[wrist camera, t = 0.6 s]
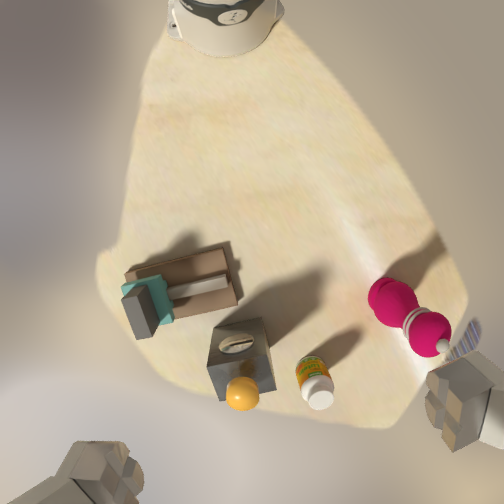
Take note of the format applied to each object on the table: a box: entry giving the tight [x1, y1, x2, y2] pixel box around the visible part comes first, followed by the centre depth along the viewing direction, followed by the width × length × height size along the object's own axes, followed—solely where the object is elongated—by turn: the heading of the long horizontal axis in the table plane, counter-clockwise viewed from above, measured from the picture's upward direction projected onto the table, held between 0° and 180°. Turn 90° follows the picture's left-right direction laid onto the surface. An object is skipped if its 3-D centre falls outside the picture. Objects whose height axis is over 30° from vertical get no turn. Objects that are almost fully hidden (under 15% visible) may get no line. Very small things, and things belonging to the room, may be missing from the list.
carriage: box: [121, 274, 175, 340], centre depth 44 cm, size 7×6×8 cm
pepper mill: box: [368, 278, 451, 357], centre depth 42 cm, size 7×7×20 cm
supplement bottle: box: [295, 356, 334, 410], centre depth 49 cm, size 5×5×10 cm
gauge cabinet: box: [207, 317, 277, 401], centre depth 46 cm, size 7×8×12 cm
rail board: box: [124, 247, 238, 319], centre depth 49 cm, size 9×16×3 cm, turn 104°
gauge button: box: [226, 377, 259, 411], centre depth 37 cm, size 4×4×2 cm
